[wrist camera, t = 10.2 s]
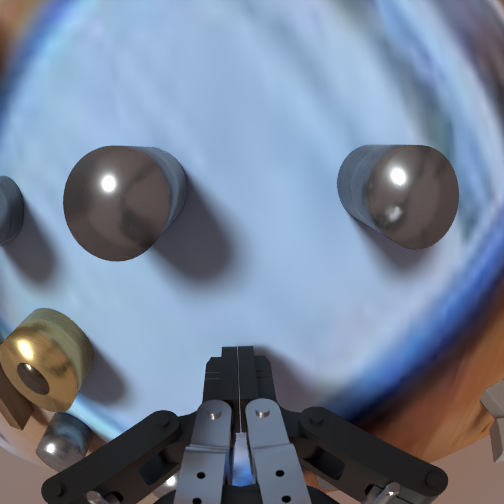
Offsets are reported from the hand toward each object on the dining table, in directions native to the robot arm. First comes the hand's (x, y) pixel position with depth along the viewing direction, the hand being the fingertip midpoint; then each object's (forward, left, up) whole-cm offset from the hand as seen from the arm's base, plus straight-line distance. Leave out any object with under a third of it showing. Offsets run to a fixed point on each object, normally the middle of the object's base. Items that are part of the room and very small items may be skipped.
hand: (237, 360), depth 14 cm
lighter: (-23, +10, -1) cm, 26 cm away
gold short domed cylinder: (+11, 0, -1) cm, 11 cm away
